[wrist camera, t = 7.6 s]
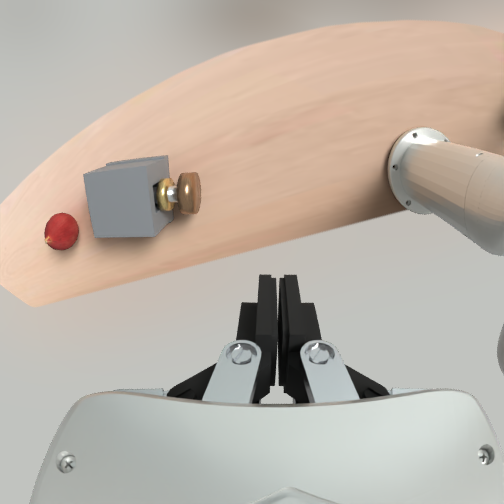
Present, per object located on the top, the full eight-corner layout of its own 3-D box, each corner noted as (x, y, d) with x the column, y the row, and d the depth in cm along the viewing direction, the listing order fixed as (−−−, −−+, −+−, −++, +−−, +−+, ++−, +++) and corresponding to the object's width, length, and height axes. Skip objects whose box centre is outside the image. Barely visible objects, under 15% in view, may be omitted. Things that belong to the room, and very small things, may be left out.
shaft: (199, 169, 33) (189, 176, 29) (202, 207, 36) (192, 219, 31) (113, 176, 34) (95, 185, 30) (118, 210, 36) (101, 222, 32)
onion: (82, 245, 41) (55, 267, 33) (59, 227, 39) (31, 247, 32) (91, 218, 38) (62, 238, 31) (67, 200, 37) (36, 216, 30)
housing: (167, 155, 34) (145, 163, 27) (173, 218, 38) (155, 239, 31) (111, 162, 34) (83, 171, 28) (119, 220, 38) (95, 239, 32)
